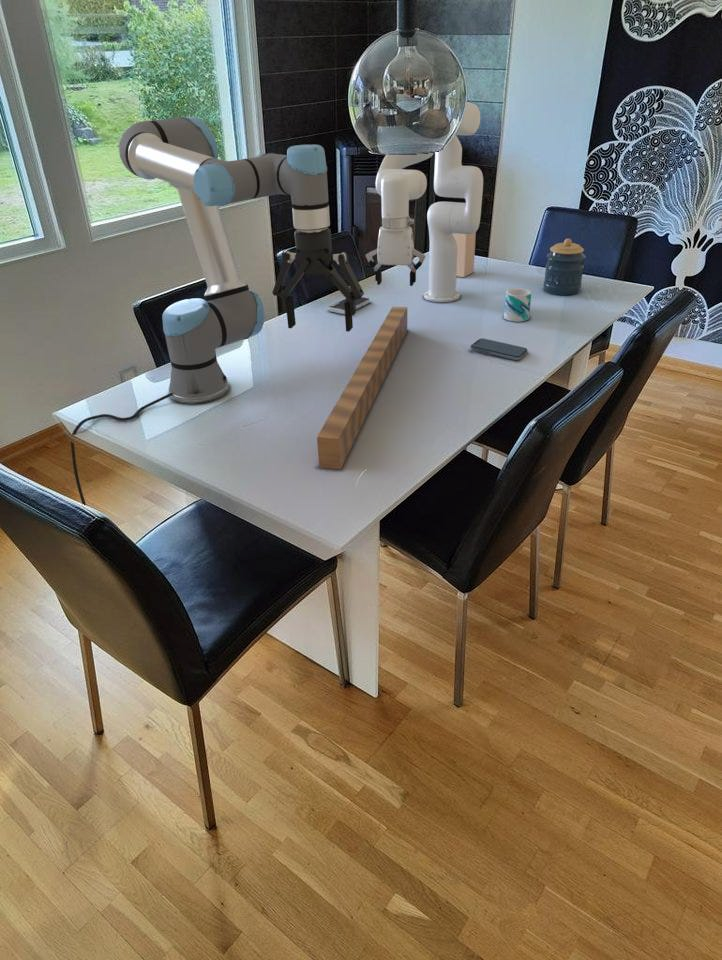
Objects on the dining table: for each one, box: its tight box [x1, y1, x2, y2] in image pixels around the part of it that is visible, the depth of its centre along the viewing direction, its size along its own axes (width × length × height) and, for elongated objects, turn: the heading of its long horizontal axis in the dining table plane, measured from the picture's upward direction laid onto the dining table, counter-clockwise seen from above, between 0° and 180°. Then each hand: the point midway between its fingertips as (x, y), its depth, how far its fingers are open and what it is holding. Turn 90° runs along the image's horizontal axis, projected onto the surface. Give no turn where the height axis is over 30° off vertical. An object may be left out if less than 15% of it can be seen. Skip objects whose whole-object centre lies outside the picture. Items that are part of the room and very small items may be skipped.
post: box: [316, 306, 408, 470], centre depth 175 cm, size 84×5×8 cm, turn 167°
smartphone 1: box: [327, 296, 370, 315], centre depth 231 cm, size 8×1×15 cm
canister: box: [543, 238, 586, 296], centre depth 234 cm, size 13×13×18 cm
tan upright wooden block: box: [452, 231, 477, 278], centre depth 256 cm, size 13×9×22 cm
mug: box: [503, 287, 532, 323], centre depth 216 cm, size 8×12×8 cm
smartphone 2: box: [470, 337, 528, 361], centre depth 193 cm, size 8×2×15 cm
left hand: (320, 328), depth 150 cm, fingers open, 13 cm apart
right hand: (395, 284), depth 196 cm, fingers open, 9 cm apart
